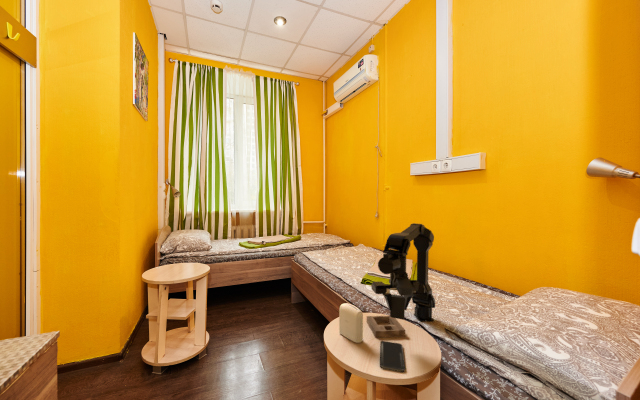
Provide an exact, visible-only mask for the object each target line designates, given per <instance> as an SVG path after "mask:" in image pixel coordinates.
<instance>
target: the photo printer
mask: <svg viewBox="0 0 640 400" xmlns="http://www.w3.org/2000/svg"><path fill="white" fill-rule="evenodd" d="M338 312H339V314H338V315H339V317H338V319H339V320H338V327H339V328H338V330H339V334H340V335H342V336H343V337H345V338H347V339H348V340H349V341H351V342H354V343H357V344H360V343H361V342H362V341H363V339H364V334H363V333H364V328H363V327H364V326H363V325H364V321H363V319H364V316H363V315H364V314H363V311H362V310H361V309H360V308H358V307H357V306H355V305H353V304H351V303H347V302H346V303H342V304H341V305H340V306H339V311H338Z"/></svg>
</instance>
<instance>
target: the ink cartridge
mask: <svg viewBox="0 0 640 400" xmlns="http://www.w3.org/2000/svg"><path fill="white" fill-rule="evenodd" d="M389 311H390V310H389ZM405 311H406V310H405V297H404V296H401V295H399V294H392V296H391V311H390V312H389V316H391V317H392V318H396V320H405V316H406V315H405Z"/></svg>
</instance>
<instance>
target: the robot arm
mask: <svg viewBox="0 0 640 400" xmlns="http://www.w3.org/2000/svg"><path fill="white" fill-rule="evenodd" d="M434 240H435V236H434V233H433V232H432V230H431V229H429V228H427V227H425V225H424V224H423V223H411V224H410V225H409V226H408V227H406V228H405V229H404V230H402V231H401V232H394V233H391V234H389V235H388V237H387V239H386V243H385V245H384V248H383V250H382V251H383V257H380V259H379V260H378V262H377V268H378V270H379V271H380V273H382V274H384V275H389V279H388V284H385V283H384V282H383V281H372V282H371V290H372V291H373V292H374V293H375V295H382V296H383V297H384V299H385V301H386V305H387V307H388V310H389V311H391V296H392V295H393V294H392V293H391V291H392V290H393V291H397V293H398V295H400V296H404V297H405V311H407V309H408V307H409V304H410V301H412V304H415V306H414V312H413V316H414V317H415V318H416V319H417V320H418V321H419V322H434V319H433V309H435V308H436V299H435V296H434V295H433V289H432V287H431V285H430V284H429V254H430V253H429V252H430V249H431V248H432V247H433V243H434ZM411 242H412V243H413V246H414V247H415V249H416V251H417V252H416V279H409V275H408V274H409V273H408V272H407V256H408V255H409V253H408V252H409V249H410V248H411Z"/></svg>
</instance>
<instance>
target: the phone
mask: <svg viewBox="0 0 640 400" xmlns="http://www.w3.org/2000/svg"><path fill="white" fill-rule="evenodd" d="M379 347H380V348H379V349H380V350H379V368H380V369H382V370H385V371H386V370H387V371H391V372H397V373H405V372H406V362H405V355H404V348H403V344H402V343H399V342H392V341H385V340H381V341H380V344H379Z"/></svg>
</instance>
